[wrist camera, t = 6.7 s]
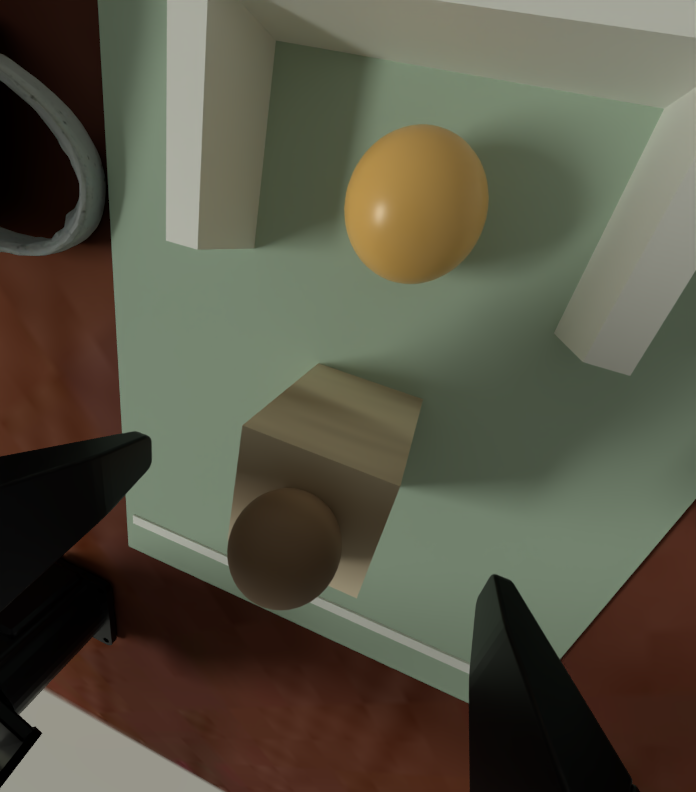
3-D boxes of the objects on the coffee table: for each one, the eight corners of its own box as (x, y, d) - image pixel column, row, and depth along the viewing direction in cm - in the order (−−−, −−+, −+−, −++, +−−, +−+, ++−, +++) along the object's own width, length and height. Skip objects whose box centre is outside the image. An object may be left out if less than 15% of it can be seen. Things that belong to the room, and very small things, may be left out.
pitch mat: (506, 711, 18) (507, 723, 18) (134, 541, 22) (127, 547, 21) (1083, 12, 7) (1126, -3, 6) (103, -101, 10) (87, -116, 10)
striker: (390, 486, 15) (328, 690, 8) (299, 450, 15) (170, 611, 8) (423, 399, 13) (378, 567, 6) (318, 363, 13) (175, 480, 7)
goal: (588, 343, 11) (630, 376, 8) (228, 241, 13) (165, 240, 10) (741, 61, 8) (883, -33, 5) (247, -14, 10) (167, -110, 7)
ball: (529, 95, 7) (482, 205, 11) (362, 69, 8) (369, 183, 11) (485, 256, 7) (452, 316, 10) (314, 218, 7) (337, 288, 11)
